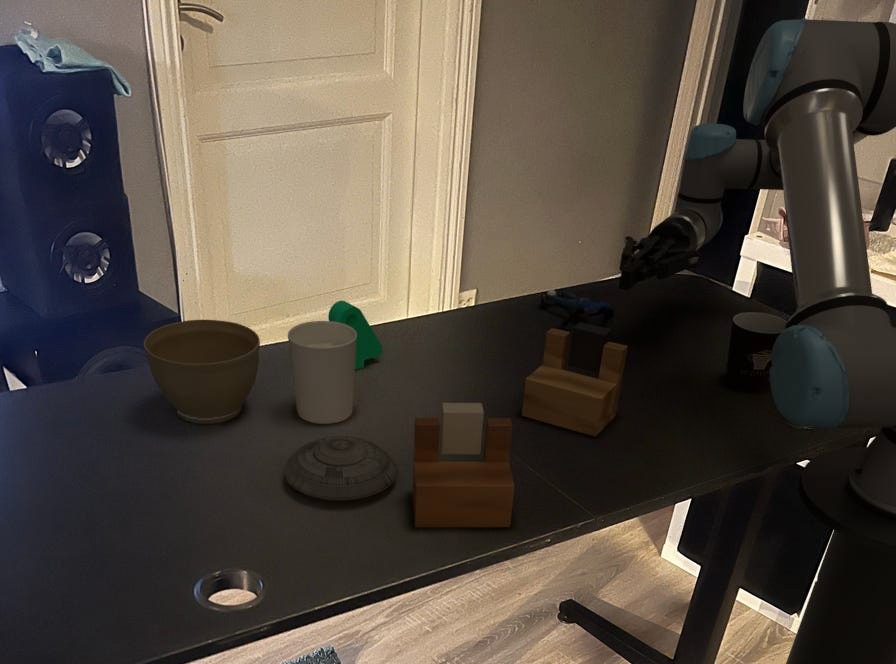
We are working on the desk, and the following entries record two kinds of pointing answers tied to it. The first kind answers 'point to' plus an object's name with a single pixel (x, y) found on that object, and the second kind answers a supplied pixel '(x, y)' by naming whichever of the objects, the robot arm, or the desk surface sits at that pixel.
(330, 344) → the white tumbler cup
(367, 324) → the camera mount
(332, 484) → the flying saucer
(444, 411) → the ivory key
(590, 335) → the black block
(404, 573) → the desk surface
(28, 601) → the desk surface
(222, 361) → the planter bowl
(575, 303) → the person figurine
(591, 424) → the far stand
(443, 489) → the near stand
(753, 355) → the coffee mug
